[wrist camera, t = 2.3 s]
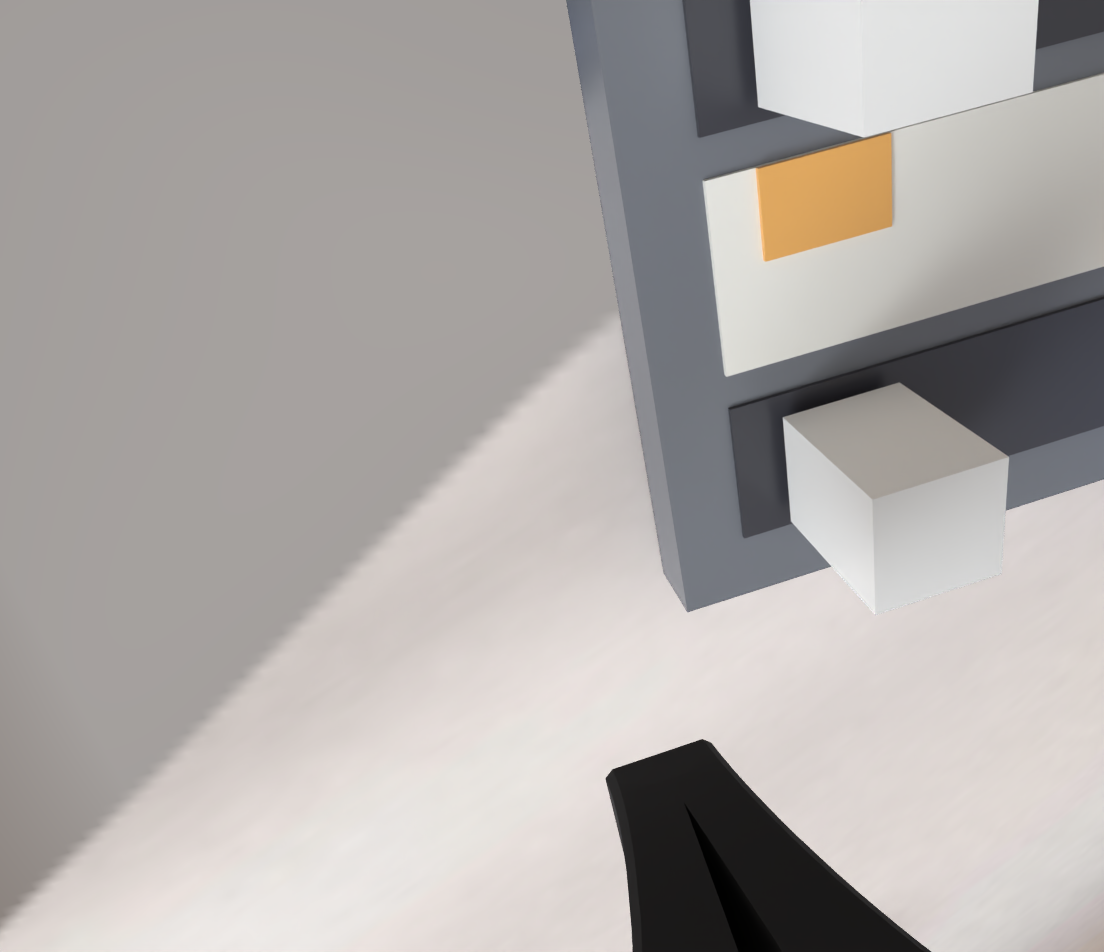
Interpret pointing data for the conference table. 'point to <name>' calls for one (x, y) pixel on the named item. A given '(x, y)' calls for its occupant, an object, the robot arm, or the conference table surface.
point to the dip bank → (838, 271)
